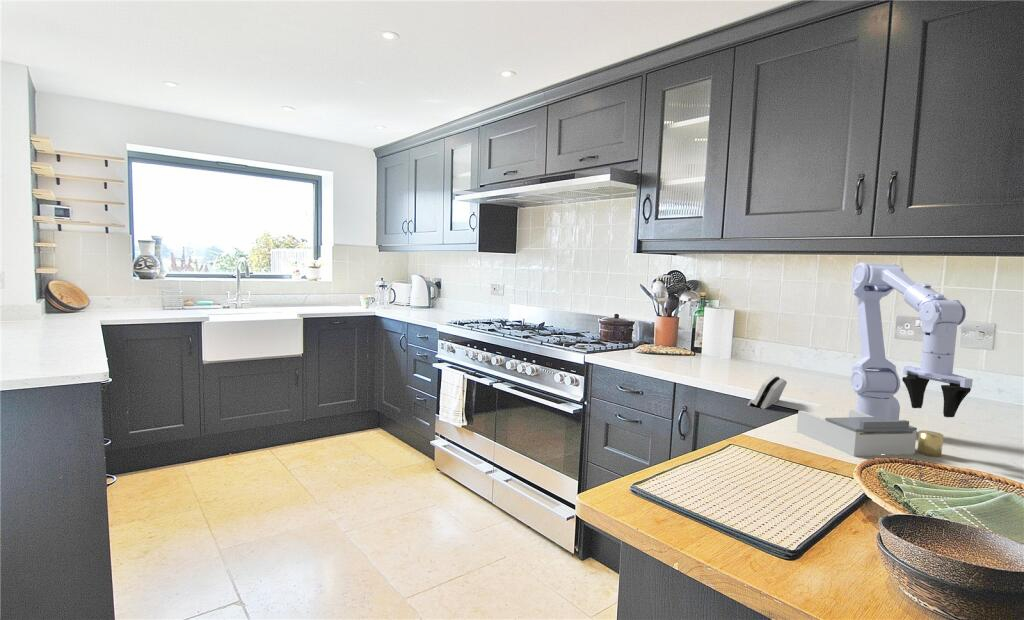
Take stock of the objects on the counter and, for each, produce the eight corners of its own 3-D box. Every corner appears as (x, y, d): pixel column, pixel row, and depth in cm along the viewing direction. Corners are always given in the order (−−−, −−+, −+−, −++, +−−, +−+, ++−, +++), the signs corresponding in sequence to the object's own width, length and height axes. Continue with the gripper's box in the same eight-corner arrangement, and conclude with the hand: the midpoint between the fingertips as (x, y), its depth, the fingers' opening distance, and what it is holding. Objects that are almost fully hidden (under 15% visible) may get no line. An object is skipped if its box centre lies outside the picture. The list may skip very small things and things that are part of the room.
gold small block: (927, 451, 126) (930, 430, 125) (946, 457, 121) (948, 436, 121) (912, 451, 125) (914, 430, 124) (930, 458, 120) (932, 436, 120)
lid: (882, 419, 131) (883, 410, 130) (916, 430, 122) (917, 421, 122) (825, 420, 128) (826, 411, 127) (855, 431, 119) (856, 422, 119)
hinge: (762, 396, 176) (775, 370, 173) (776, 404, 173) (790, 377, 170) (746, 405, 163) (760, 377, 160) (761, 414, 160) (776, 384, 157)
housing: (850, 430, 140) (852, 409, 139) (914, 454, 122) (916, 430, 122) (796, 432, 137) (798, 410, 136) (853, 456, 119) (855, 432, 119)
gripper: (894, 348, 127) (889, 404, 128) (956, 358, 113) (949, 421, 114) (919, 348, 129) (913, 403, 130) (982, 358, 114) (976, 420, 115)
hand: (932, 412), depth 122 cm, fingers open, 7 cm apart
